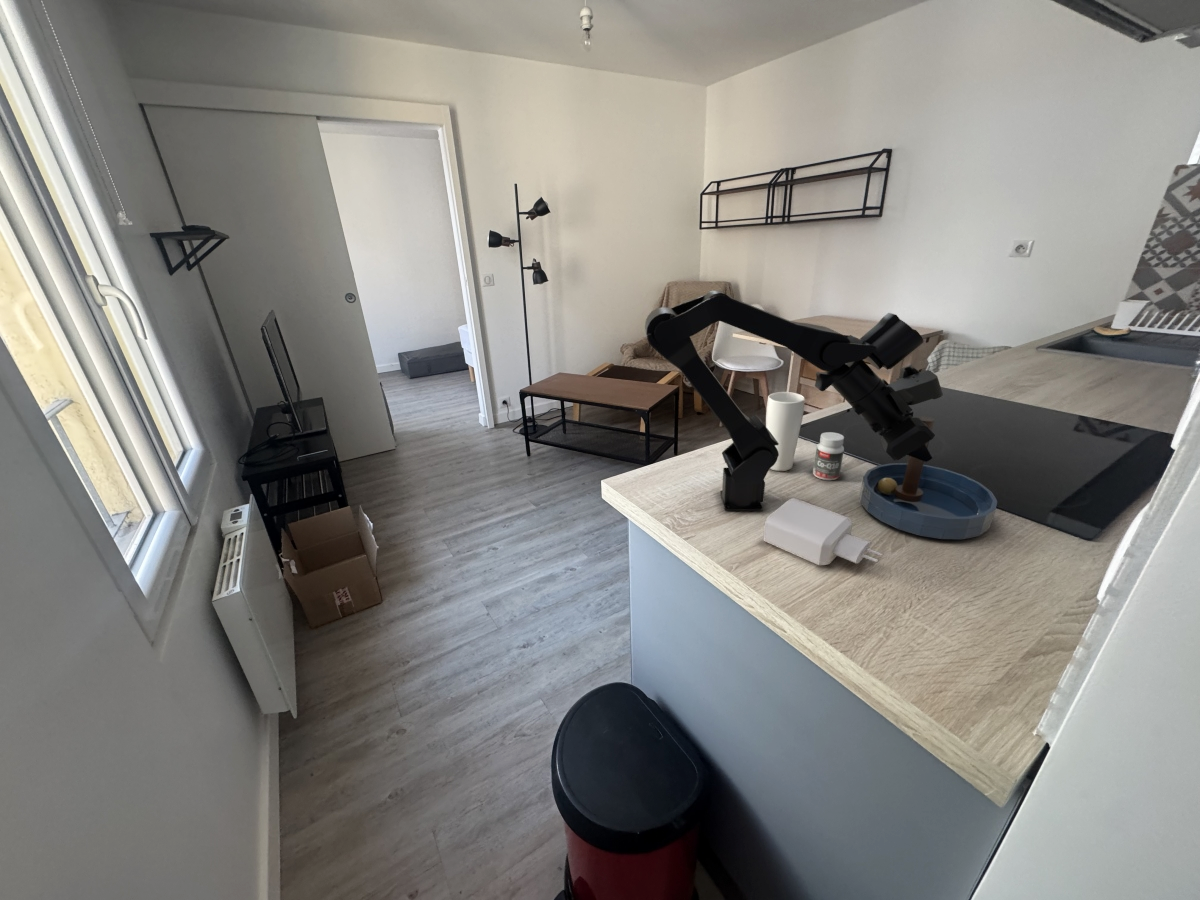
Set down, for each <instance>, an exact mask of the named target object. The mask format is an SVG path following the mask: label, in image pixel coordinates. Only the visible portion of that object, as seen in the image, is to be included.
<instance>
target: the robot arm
mask: <svg viewBox="0 0 1200 900" xmlns="http://www.w3.org/2000/svg"><path fill="white" fill-rule="evenodd" d="M718 322H721V323H724V324H726V325H729V326H731V327H734V328H737V329H739V330H741V331H745V332H747V333H749V334H752V335H754V336H757V337H760V338H763V339H765V340H767V341H769V342H772V343H775V344H777V345H780V346H782V347H785V348H786V349H788V350H790V351H791V352H793V353H794V354H795V355H797V356H799V357H800V358H802V359H804V360H805V361H807V362H808V363H809V364H811V365H813V367H816V368H817V369H819V370H821V372H820V371H817V372H816V373H815V376H816V378H815V384H814V387H815V389H818V390H819V391H820V392H824V391H826V390H827V389H828V388H829V387H831V386H832V387H833V388H834V389H835V391H837V393H839V395H840V396H841V397H842V398H843V399H844V400H845V401H846V402H847V403H848V405H850V406H851V408H852V409H853V411H854V413H856V414H857V416H861V418H862V419H863V420H864V421H865V422H866V423H867V424H868V425H869V427H870V429H871V430H872V431H873V432H874V433H876V434H878V435H879V436H881V439H880V445H881V446H882V447H883V450H884V452H885V453H886V454H887V455H888V456H889V457H890V458H891V459H892V460H893V461H899V460H901V459H903V458H904V457H907V456H908V457H909V456H911V457H914V458H917V459H919V460H922V461H924V463H928V462H929V461H932V459H933V456H932V454H931V453H930V450H929V449H928V448H927V447H926V445H925V443H927V442H928V441H929V442H930V441H932V440H934V438H935V436H936V434H935V433H934V432H933V430H932V431H931V430H930V429H929V428H928V427H927V426H926V424H925V423H924V422H923V421H922V420H921V419H920V418H918V417H914V410H913V408H912V407H911V406H914V405H917V404H921V403H924V402H926V401H930V400H937V399H939V398H941V397H942V396H943V395H944V394H943V389H942V387H941V384H940V380H939V377H938V375H937V374H935V373H934V372H933V371H931V370H929V369H927V370H926V369H925V368H923V369H921V370H920V371H919V370H918V369H917V368H915V367H914V366H913V365H911V364H909V365H907V366H904V367H901V368H900V372H899V375H898V377H897V378H896V379H895V380H896V381H895V380H894V381H893V382H891V383H888V381H887V380H886V379H885V378H883V379H882V378H881V377H880V376H878V374H877V373H876V372H875V371H874V370H873V369H872V368H871V367H870V366H869V365H868V363H869V364H870V365H871V366H872V367H874V368H875V369H877V370H879V371H880V370H881V369H882V368H884V369H886V370H892V369H893V368H894V367H895V366H897V365H898V364H899V363H900V362H901V361H903V360H904V359H905V358H906V357H908V356H909V355H911V354H912V353H913V352H914V351H915V350H916V349H918V348H920V346H921V345H923V344H924V339H923V336H922V335H921V334H920V333H919V332H918V330H917V329H914V328H913V327H911V326H910V325H909V324H908V323H907V322H905V321H904V320H902V319H900V317H899V316H898V315H897V314H896V313H892V312H888V313H886V314H885V315H884V316H883V317H882V318H880V320H879V321H878V322H877V323H876V324H875V325H874V326H873V327H871V328H870V329H869V330H868V331H867V332H866V333H865V334H864V335H862V336H861V337H860V338H858V337H856V336H854V335H852V334H849V335H848V334H843V333H841V332H838V331H836V330H834V329H831V328H830V327H827V326H824V325H818V324H813V323H807V322H798V321H793V320H789V319H786V318H784V317H781V316H779V315H776V314H774V313H772V312H769V311H766V310H764V309H762V308H760V307H757V306H755V305H751V304H750V303H747V302H744V301H742V300H739V299H737V298H734V297H732V296H729V295H728V294H727V293H725V292H723V291H721V290H717V289H714V290H711V291H708V292H707V293H705V294H704V295H701V296H698V297H696V298H693V299H691V300H688V301H685V302H681V303H679V304H676V305H675V306H672V307H671V308H670V307H665V306H663V307H657V308H655V309H654V310H652V311H651V312H649V314H648V315H647V316H646V318H645V323H644V331H645V333H646V334H645V335H646V339H647V342H648V344H649V345H650V346H651V348H653V349H654V351H656V352H657V353H658V354H660V356H661V357H663V358H664V359H665V360H666V361H668V362H669V363H670V364H672V365H673V366H674V367H676V368H677V369H678V370H679V371H680V372H681V373H682V374H683V375H684V377H685V378H686V379H687V381H688V382H689V383H690V384H691V386H692V387H693V388H694V390H695V391H696V393H698V395H699V396H700V398H701V399H702V400H703V401H704V402H705V404H706V405H707V406H708V408H709V409H710V410H711V412H712V413H713V414H714V416H715V417H716V418H717V419H718V421H719V422H720V423H721V425H722V426H723V427H724V429H726V432H727V433H728V435H729V437H730V439H731V441H732V443H731V444H730V445H728V446H727V447H726V448H725V449H724V450H723V451H721V455H722V457H723V458H722V459H723V461H724V463H725V464H726V466H727V467H723V468H722V485H721V486H722V487H721V490H720V492H719V494H720V498H721V502H722V507H723V511H726V512H762V511H763V506H762V503H764V500H765V489H766V481H765V478H766V477H767V474H768V472H769V471H770V470H771V469H770V468H771V467H772V466H773V465H774V464H775V463H776V461H777V458H778V456H779V453H778V450H777V448H776V447H775V445H778V444H779V443H778V442H777V441H776V439H775V438H774V437H773V435H772V434H771V432H770V431H769V430H768V428H766V424H765V423H764V422H763V421H762V419H761V418H760V417H759V416H758V414H757V413H755V414H753V415H752V416H751V417H749V416H747V415H746V414H745V413H743V411H742V410H741V409H740V408H739V406H738V405H737V404H736V402H735V401H734V400H733V398H732V397H731V396H730V394H729V393H728V391H727V390H726V389H725V388H724V387H723V385H722V384H721V383H720V381H719V380H718V378H717V377H716V376H715V374H714V372H712V371H711V369H710V368H709V366H708V365H707V364H706V362H705V361H704V360H703V358H702V357H701V355H699V353H698V351H697V349H696V347H695V345H694V343H693V340H692V339H691V337H692V336H694V335H697V334H698V333H699V332H702V331H703V330H704V329H707V328H708V327H709V326H711V325H713V324H715V323H718ZM864 360H866V361H867V362H868V363H866V362H865V361H864Z"/></svg>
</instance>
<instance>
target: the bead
mask: <svg viewBox="0 0 1200 900" xmlns="http://www.w3.org/2000/svg"><path fill="white" fill-rule="evenodd" d="M896 486H898V485H897V483H896V481H895V480H893V479H891V478H883V479H881V480H880V481H879V482H878V489H879V491H880V492H881V493H883V494H885V495H890V494H893V493H894V492H895V488H896Z"/></svg>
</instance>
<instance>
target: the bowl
mask: <svg viewBox="0 0 1200 900" xmlns="http://www.w3.org/2000/svg"><path fill="white" fill-rule="evenodd" d="M907 463H908V462H891V463H885V464H879V465H875V466H874V467H872V468H870V469H868V470H867V471H865V473H864V475H863V476H862V481H861V486H860V490H859V501H860V504H861V506H863V508H864V509H865V510H866V512H867V513H868V514H870V515H872V517H874V518H876V520H878V521H880V522H882V523H883V524H886V525H889V526H890V527H892V528H895V529H897V530H899V531H903V532H906V533H909V534H912V535H916V536H920V537H924V538H925V537H926V538H932V539H939V540H967V539H970V538H975V537H980V536H981V535H982V534H984V533H986V532H987V531H989V529H990V527H991V524H992V521H993V518H994V515H995V512H996V510H997V505H998V500H997V497H996V496H995V494H994V493H993V492H992V491H991V490H990V489H988V487H986V486H985V485H984V484H982V483H981V482H980V481H977V480H975V479H973V478H971V477H969V476H968V475H964V474H961V473H959V472H955V471H953V470H949V469H947V468H942V467H938V466H933V465H929V464H924V465H923V469H922V473H921V477H920V481H919V485H918V488H919V489H921V490H922V491H923V497H922V500H921V501H918V502H908V501H904V500H901V499H899V498H897V497H896V496H895V495H894V493H893V494H890V495H885V494H883V493H881V492H880V491H879V489H878V482H879V481H880V480H881V479H883V478H891V479H893V480H895V481H896V483H897V485H903V481H904V476H905V472H906V467H907Z"/></svg>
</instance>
